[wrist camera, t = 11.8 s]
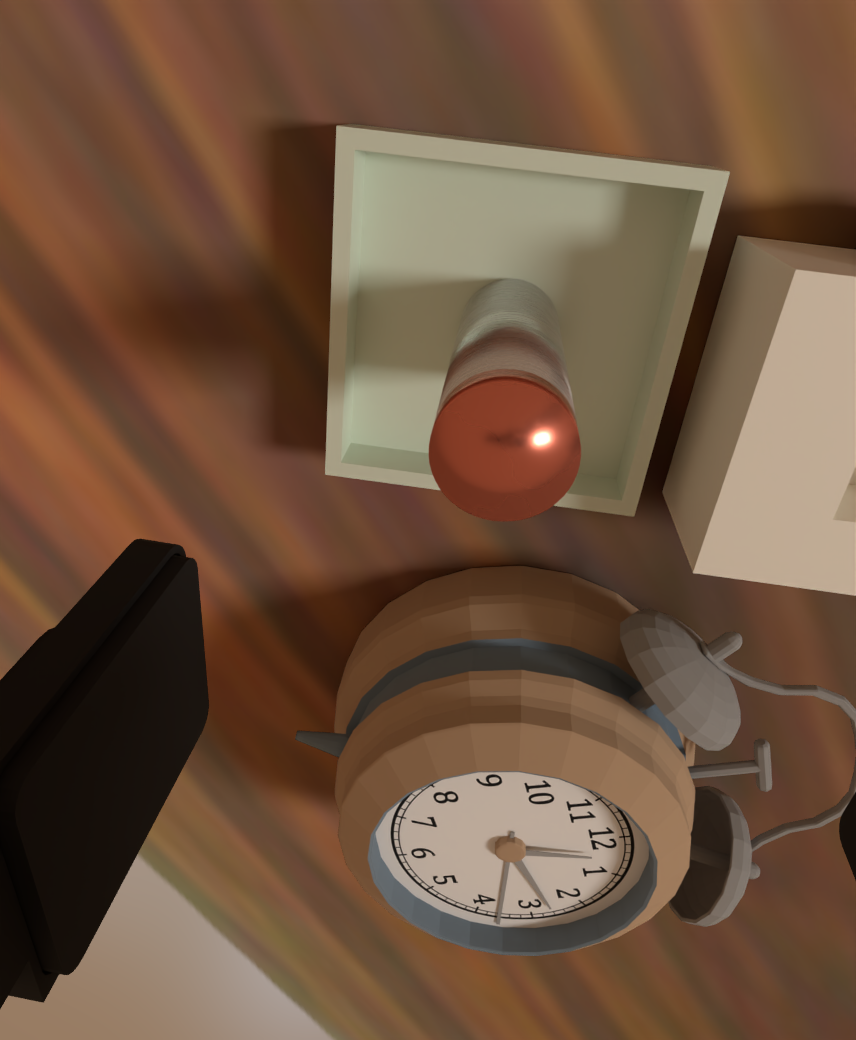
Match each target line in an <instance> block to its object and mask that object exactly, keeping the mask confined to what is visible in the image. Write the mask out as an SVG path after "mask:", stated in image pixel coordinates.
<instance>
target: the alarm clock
mask: <svg viewBox="0 0 856 1040" xmlns="http://www.w3.org/2000/svg"><path fill="white" fill-rule="evenodd" d="M741 645H742V637H741V635H740V634H739V633H736V632H727V633H725V634H723V635H722V636H720V637H719V638H717V639H716V640H714V641H713V642H711V643H710V644H708V645H707V644H706V643H705V642H704V641H703V640H702V639H701V638H700V637H699V636H698V635H697V634H696V633H695V632H694V631H693V630H692V629H690V628H689V627H687V626H686V625H685V624H683V623H682V622H680V621H679V620H677V619H676V618H674V617H672V616H671V615H667V614H664V613H661V612H658V611H654V610H651V609H645V610H640V611H639V610H638V609H637V608H635V607H634V606H633V605H631V604H630V603H629V602H627V601H626V600H625V599H624V598H622V597H621V596H620V595H618V594H617V593H615V592H613V591H611V590H609V589H606V588H604V587H601V586H599V585H597V584H594V583H592V582H589V581H587V580H585V579H582V578H580V577H577V576H575V575H573V574H569V573H563V572H558V571H552V570H546V569H540V568H534V567H528V566H522V565H520V566H501V567H481V568H470V569H467V570H463V571H460V572H456V573H453V574H449V575H446V576H442V577H439V578H435V579H432V580H428V581H426V582H424V583H422V584H421V585H419V586H417V587H416V588H414V589H412V590H410V591H409V592H407V593H405V594H403V595H402V596H400V597H398V598H397V599H395V600H393V601H391V602H390V603H388V604H387V605H386V606H385V607H384V608H383V609H382V611H381V612H380V613H379V614H378V615H377V616H376V617H375V618H374V619H373V620H372V621H371V622H370V623H369V624H368V625H367V626H366V627H365V628H364V629H363V630H362V631H361V634H360V636H359V638H358V640H357V642H356V644H355V646H354V648H353V650H352V653H351V655H350V657H349V659H348V661H347V663H346V666H345V670H344V673H343V676H342V680H341V683H340V686H339V690H338V693H337V702H336V712H335V723H334V733H326V732H311V731H297V734H296V738H295V740H298V741H300V742H303V743H305V744H307V745H310V746H312V747H315V748H317V749H320V750H322V751H324V752H327V753H329V754H332V755H334V756H337V757H339V759H338V763H337V773H336V783H335V799H336V803H337V807H338V810H339V814H340V819H339V829H338V838H339V841H340V845H341V848H342V852H343V855H344V859H345V862H346V865H347V866H348V868H349V869H350V871H351V872H352V874H353V875H354V877H355V878H356V879H357V881H358V882H359V884H360V885H361V887H362V888H363V890H364V891H365V892H366V893H367V894H368V895H370V896H371V897H372V898H373V899H374V900H375V901H377V902H378V903H379V904H380V905H381V906H382V907H383V908H385V909H386V910H387V911H388V912H389V913H390V914H392V915H394V916H395V917H397V918H399V919H401V920H402V921H404V922H406V923H408V924H410V925H411V926H413V927H415V928H417V929H419V930H420V931H422V932H424V933H427V934H429V935H431V936H434V937H436V938H439V939H442V940H445V941H448V942H451V943H453V944H456V945H459V946H462V947H465V948H468V949H473V950H478V951H484V952H489V953H495V954H501V955H527V956H539V955H547V954H554V953H562V952H570V951H574V950H578V949H582V948H585V947H588V946H591V945H594V944H598V943H601V942H604V941H607V940H610V939H614V938H617V937H619V936H621V935H623V934H625V933H627V932H628V931H630V930H632V929H634V928H635V927H637V926H639V925H641V924H643V923H644V922H646V921H648V920H650V919H651V918H652V917H653V916H654V915H655V914H656V913H657V912H658V911H659V910H660V909H661V908H662V907H663V906H664V905H665V904H666V903H667V902H669V905H670V908H671V909H672V911H673V912H674V913H675V914H676V915H677V916H678V917H679V919H680V920H681V921H683V922H686V923H690V924H694V925H699V926H705V927H706V926H711V925H715V924H717V923H718V922H720V921H722V920H723V919H725V918H727V917H728V916H730V914H731V913H732V911H733V910H734V908H735V907H736V905H737V904H738V902H739V901H740V899H741V898H742V896H743V895H744V892H745V889H746V886H747V882H748V879H749V878H750V879H755V878H757V877H759V875H760V869H759V867H758V866H757V864H755V863H754V862H751V857H752V852H753V851H754V850H756V849H757V848H759V847H760V846H762V845H764V844H765V843H768V842H770V841H772V840H775V839H777V838H779V837H782V836H784V835H786V834H789V833H791V832H796V831H802V830H807V829H813V828H818V827H822V826H823V825H825V824H827V823H829V822H831V821H833V820H834V819H836V818H838V817H840V816H842V814H843V812H844V810H845V808H846V807H847V805H848V803H849V802H850V800H851V799H852V797H853V795H854V794H855V792H856V759H855V767H854V773H853V777H852V780H851V784H850V788H849V791H848V792H847V794H846V795H845V796H844V797H843V798H842V799H841V801H840V802H839V803H838V804H837V805H836V806H834V807H832V808H831V809H829V810H827V811H825V812H823V813H821V814H819V815H817V816H816V817H814V818H810V819H805V820H800V821H794V822H789V823H784V824H782V825H780V826H778V827H776V828H773V829H771V830H769V831H767V832H765V833H762V834H760V835H758V836H757V837H755V838H754V839H753V840H751V841H750V835H749V829H748V825H747V821H746V819H745V817H744V816H743V814H742V812H741V810H740V808H739V806H738V804H737V803H736V802H735V801H734V800H733V799H732V798H731V797H729V796H728V795H726V794H725V793H723V792H722V791H720V790H719V789H716V788H713V787H710V786H704V787H696V788H695V787H694V784H693V781H692V779H693V778H704V777H714V776H725V775H735V774H745V773H756V784H757V787H758V788H759V789H760V790H761V791H766V792H767V791H769V790H771V788H772V774H771V758H770V744H769V743H768V742H767V741H766V740H765V739H758V740H755V742H754V757H755V760H749V761H739V762H729V763H719V764H708V765H698V766H693V764H694V756H695V743H696V744H697V745H699V746H701V747H702V748H704V749H705V750H716V751H720V750H721V749H723V748H725V747H726V746H728V745H730V744H731V742H732V740H733V738H734V737H735V735H736V733H737V731H738V729H739V726H740V708H739V704H738V700H737V696H736V692H735V689H734V686H733V684H732V682H731V680H730V678H729V676H728V675H730V676H731V677H733V678H735V679H736V680H738V681H740V682H741V683H743V684H745V685H746V686H750V687H753V688H757V689H760V690H763V691H767V692H770V693H774V694H777V695H813V696H815V697H818V698H820V699H823V700H825V701H828V702H831V703H833V704H836V705H838V706H839V707H840V708H841V709H842V710H843V711H844V712H845V713H846V714H847V716H848V717H849V718H850V720H851V724H852V729H853V733H854V738H855V747H856V709H855V708H854V707H853V706H852V705H851V704H850V703H849V702H848V700H847V699H846V698H845V697H844V696H842V695H839V694H837V693H834V692H832V691H829V690H827V689H824V688H822V687H819V686H816V685H779V684H775V683H772V682H768V681H765V680H761V679H758V678H754V677H751V676H749V675H747V674H745V673H743V672H740V671H738V670H736V669H734V668H732V667H731V666H729V665H728V664H727V663H726V662H725V661H724V660H723V659H724V658H726V657H727V656H729V655H730V654H732V653H733V652H735V651H736V650H738V649H739V648H740V646H741Z"/></svg>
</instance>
